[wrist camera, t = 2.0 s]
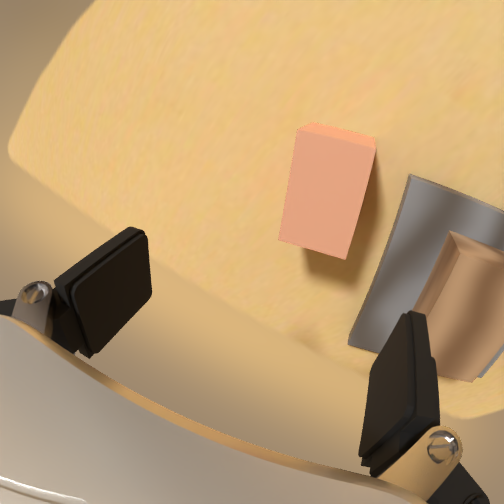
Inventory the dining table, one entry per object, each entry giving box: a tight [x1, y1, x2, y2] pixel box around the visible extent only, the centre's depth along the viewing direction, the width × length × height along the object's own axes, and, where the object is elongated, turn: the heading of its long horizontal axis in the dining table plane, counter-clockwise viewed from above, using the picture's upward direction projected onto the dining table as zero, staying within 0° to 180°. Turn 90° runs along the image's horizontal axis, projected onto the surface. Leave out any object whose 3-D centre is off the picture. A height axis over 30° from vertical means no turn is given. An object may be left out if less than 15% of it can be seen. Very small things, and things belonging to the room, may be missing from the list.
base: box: [348, 174, 504, 383], centre depth 22 cm, size 18×18×6 cm
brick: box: [278, 122, 376, 260], centre depth 22 cm, size 5×8×6 cm, turn 173°
